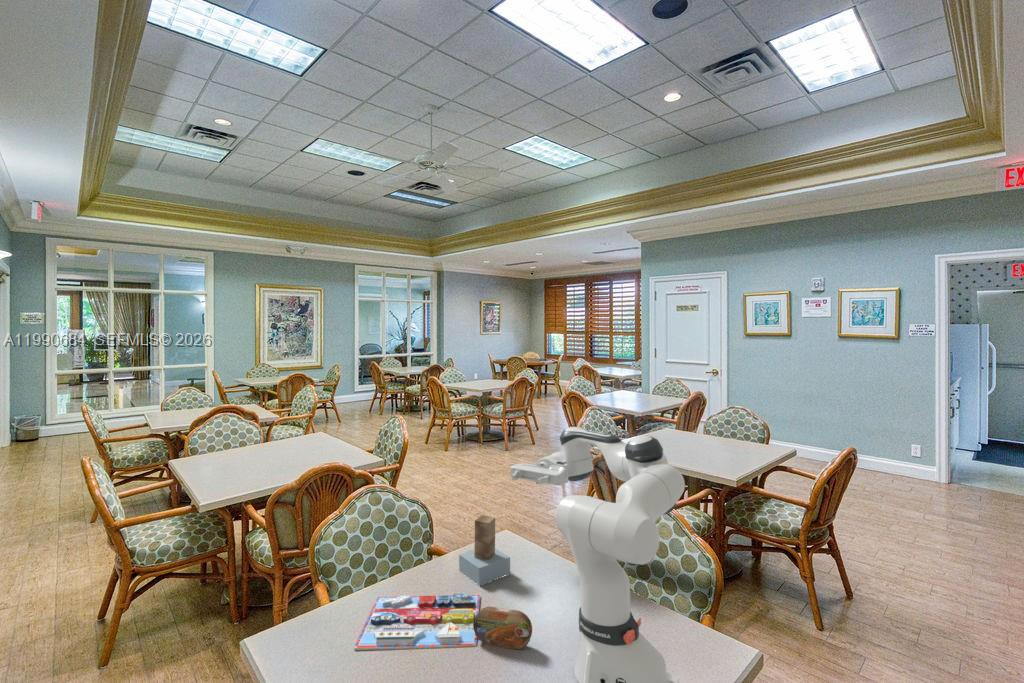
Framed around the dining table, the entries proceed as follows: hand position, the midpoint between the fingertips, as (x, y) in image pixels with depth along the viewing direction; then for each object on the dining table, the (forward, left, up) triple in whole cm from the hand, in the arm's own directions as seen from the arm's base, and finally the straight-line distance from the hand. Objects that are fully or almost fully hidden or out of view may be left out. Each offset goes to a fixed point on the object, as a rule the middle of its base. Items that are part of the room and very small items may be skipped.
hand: (525, 479), depth 157 cm
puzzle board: (+8, +40, -31) cm, 51 cm away
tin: (-16, +35, -30) cm, 49 cm away
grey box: (+10, +9, -30) cm, 33 cm away
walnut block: (+10, +9, -24) cm, 28 cm away
